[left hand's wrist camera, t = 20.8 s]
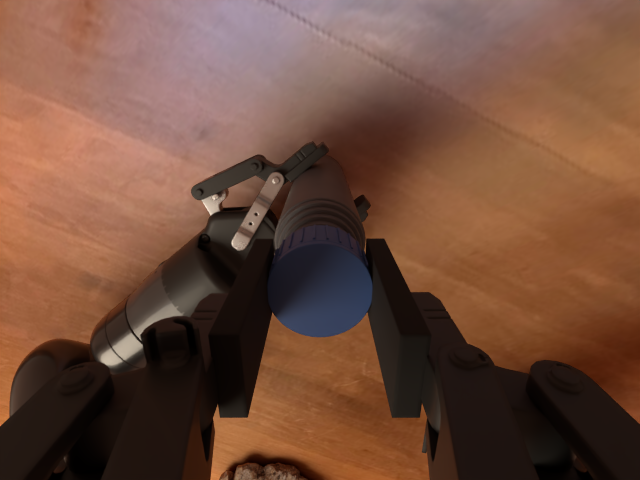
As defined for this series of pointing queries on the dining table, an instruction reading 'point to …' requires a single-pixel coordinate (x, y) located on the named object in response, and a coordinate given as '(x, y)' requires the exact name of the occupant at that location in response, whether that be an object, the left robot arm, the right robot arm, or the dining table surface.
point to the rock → (263, 472)
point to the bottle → (320, 203)
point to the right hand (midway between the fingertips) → (345, 174)
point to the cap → (319, 282)
